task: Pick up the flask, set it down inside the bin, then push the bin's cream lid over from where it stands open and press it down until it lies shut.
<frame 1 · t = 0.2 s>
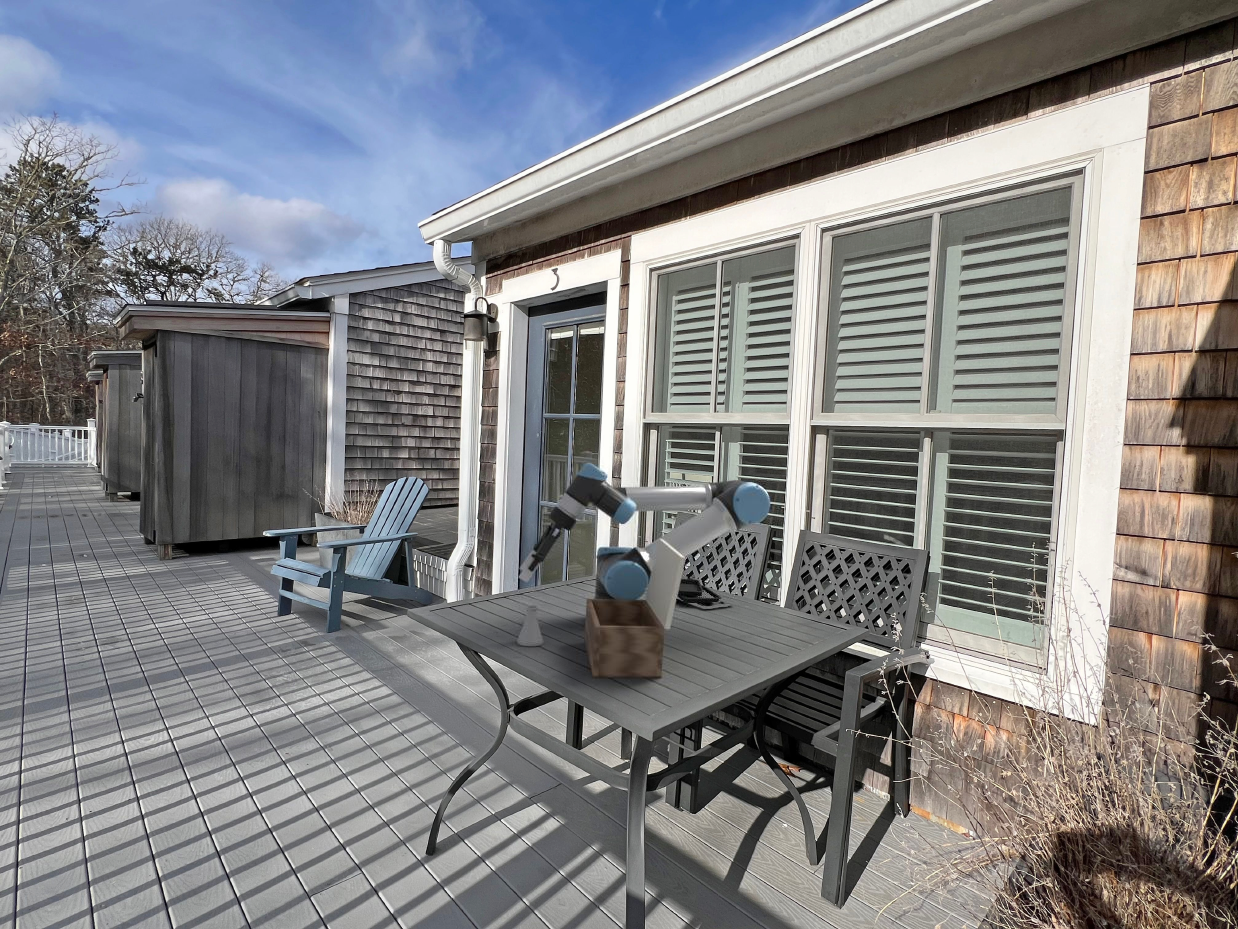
hand: (523, 575, 182), 17 cm above the table, tool tilted 30°, fingers open, 13 cm apart
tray: (689, 601, 233), on the table
flask: (530, 644, 176), on the table
bin: (620, 658, 167), on the table
lid: (663, 580, 167), point 20 cm above the table, hinge at 99.8°, touching arm
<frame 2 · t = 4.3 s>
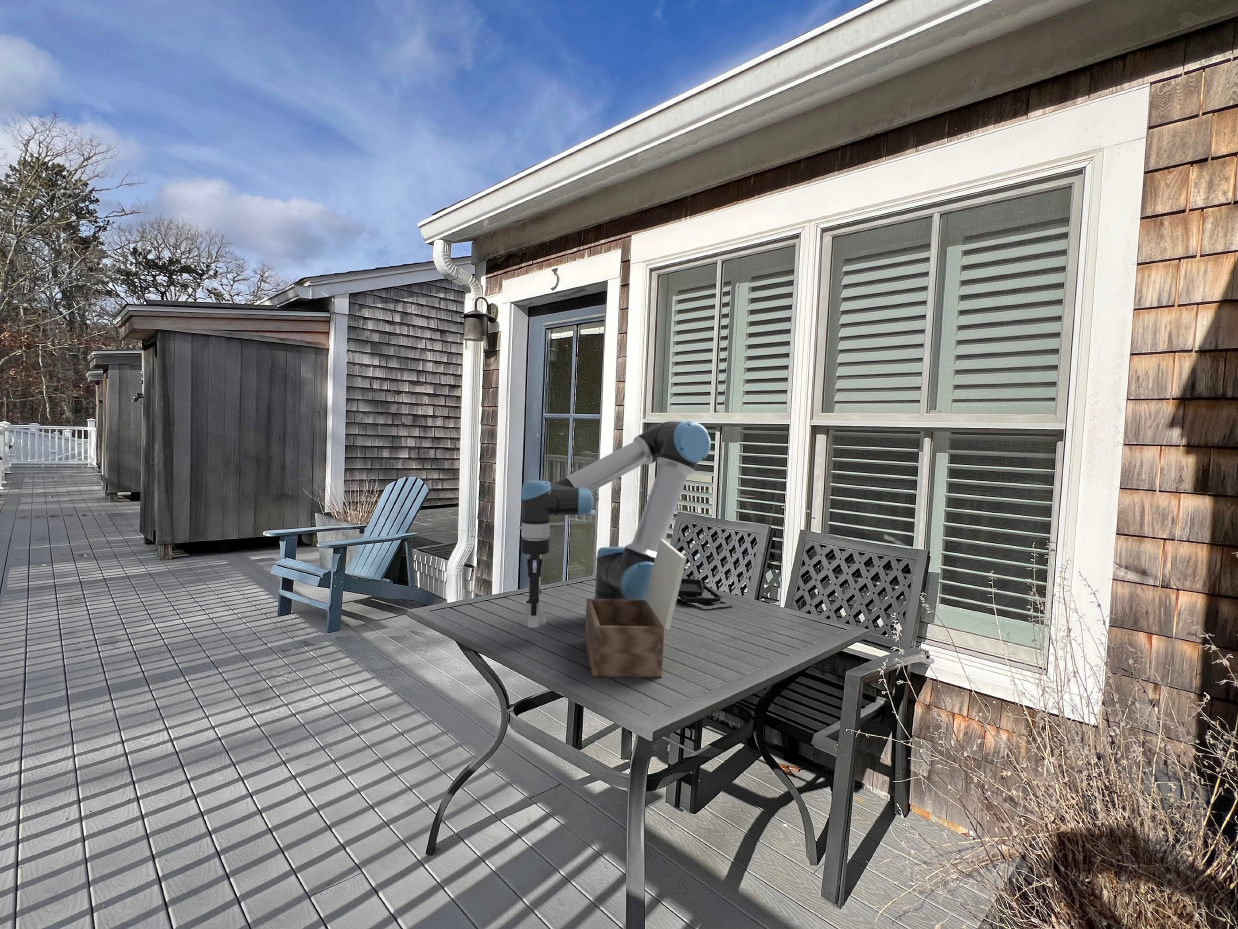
hand: (533, 622, 176), 6 cm above the table, tool pointing down, fingers closed on flask, 7 cm apart
flask: (533, 624, 176), point 5 cm above the table, touching gripper
lid: (664, 580, 167), point 20 cm above the table, hinge at 100.5°
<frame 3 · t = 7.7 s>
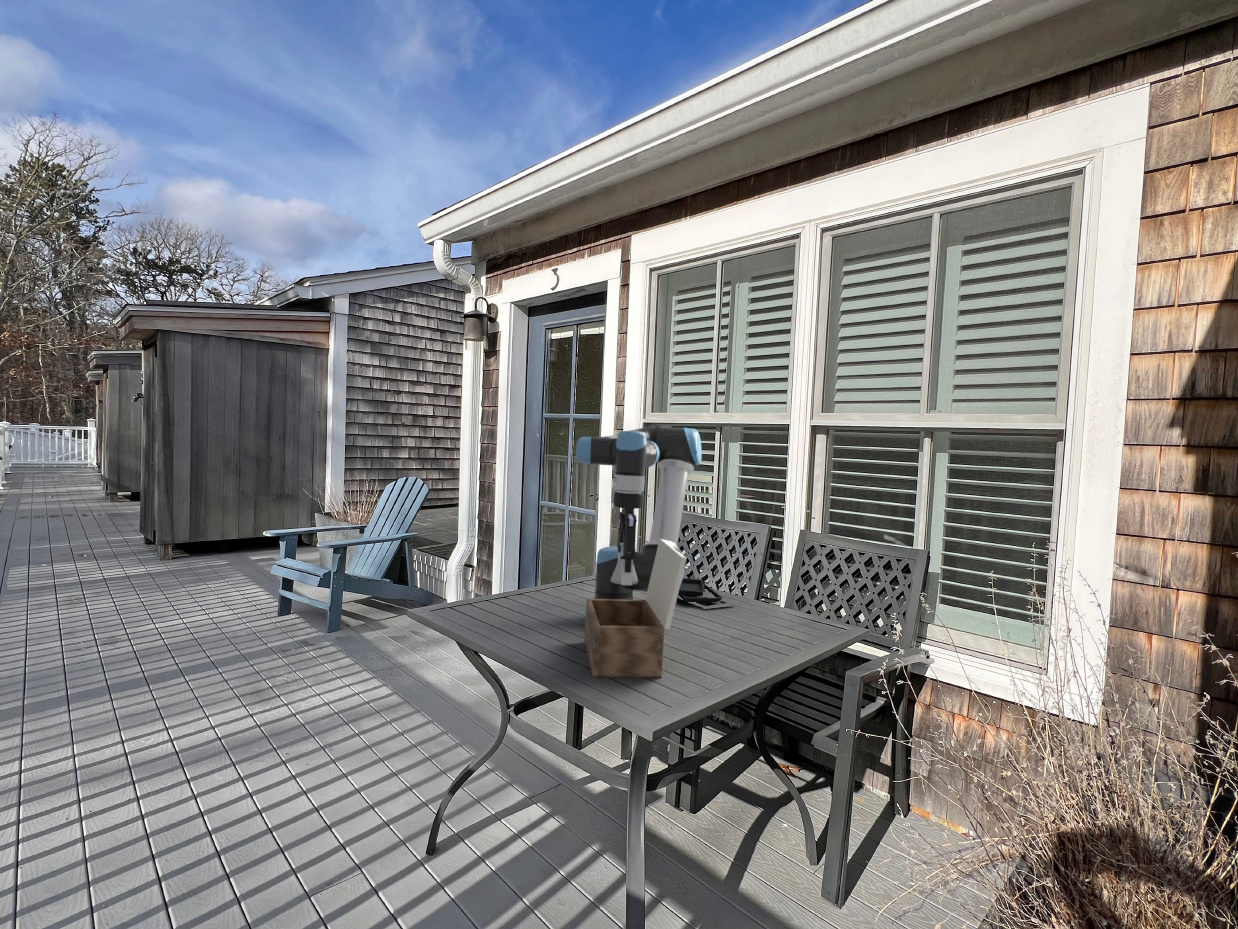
hand: (624, 581, 166), 20 cm above the table, tool pointing down, fingers closed on flask, 7 cm apart
flask: (624, 583, 166), point 20 cm above the table, touching gripper
when the fingers open (1 cm above the table, at t = 11.4 s): flask stays where it is, resting on bin.
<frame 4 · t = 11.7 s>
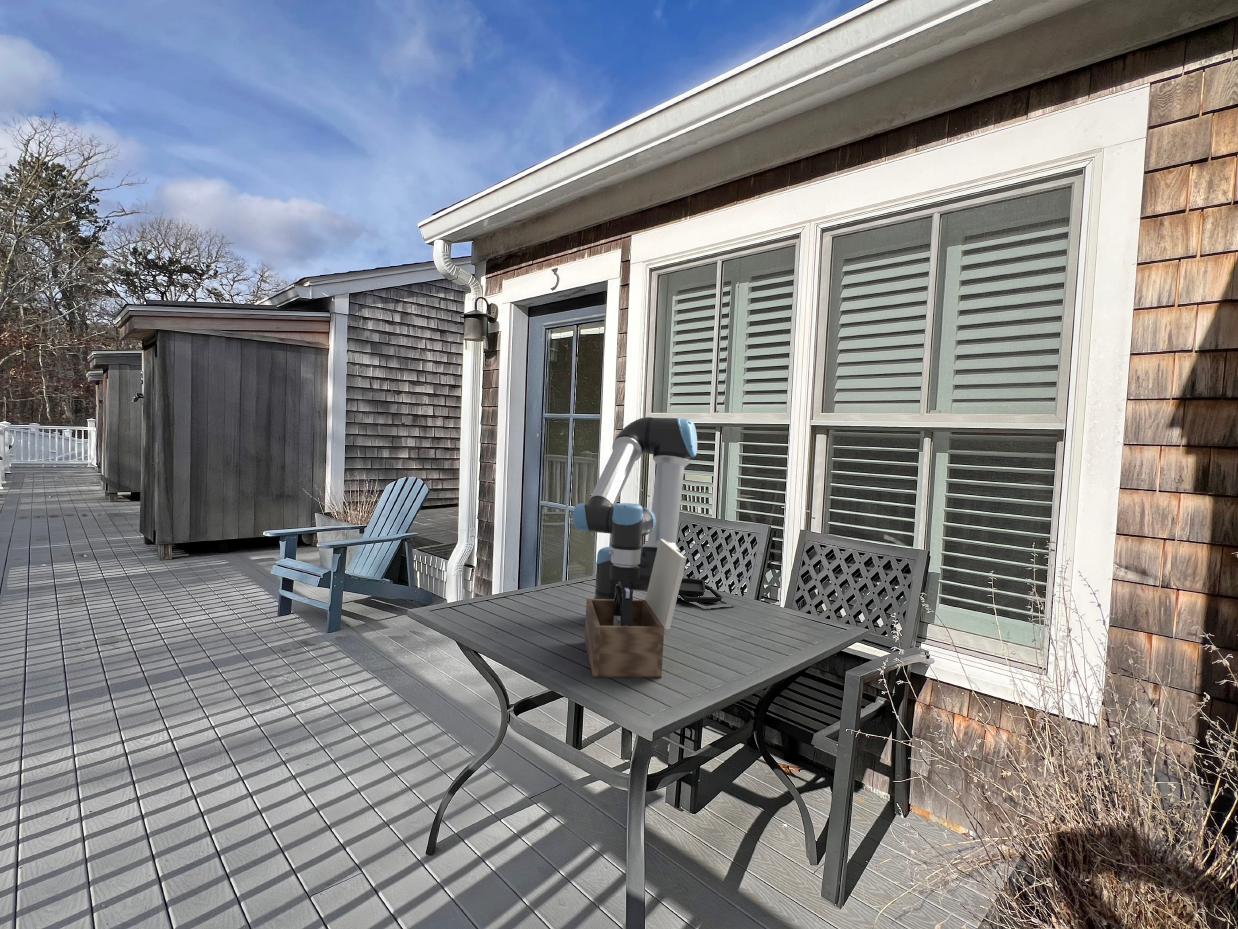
hand: (620, 648, 167), 3 cm above the table, tool pointing down, fingers open, 12 cm apart
flask: (620, 657, 167), resting on bin
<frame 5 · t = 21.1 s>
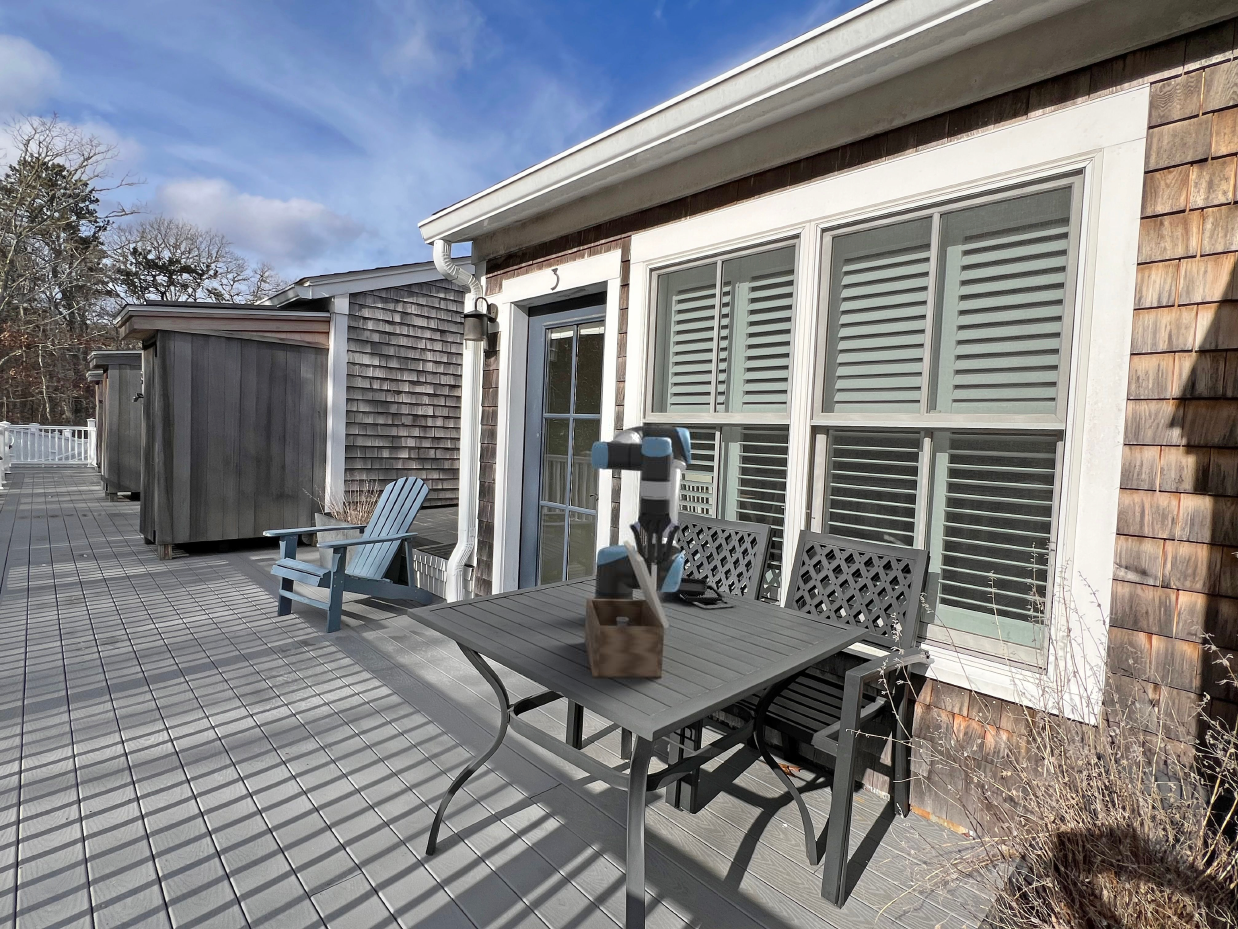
hand: (652, 589, 167), 18 cm above the table, tool pointing down, fingers closed
lid: (644, 581, 167), point 20 cm above the table, hinge at 66.0°, touching gripper
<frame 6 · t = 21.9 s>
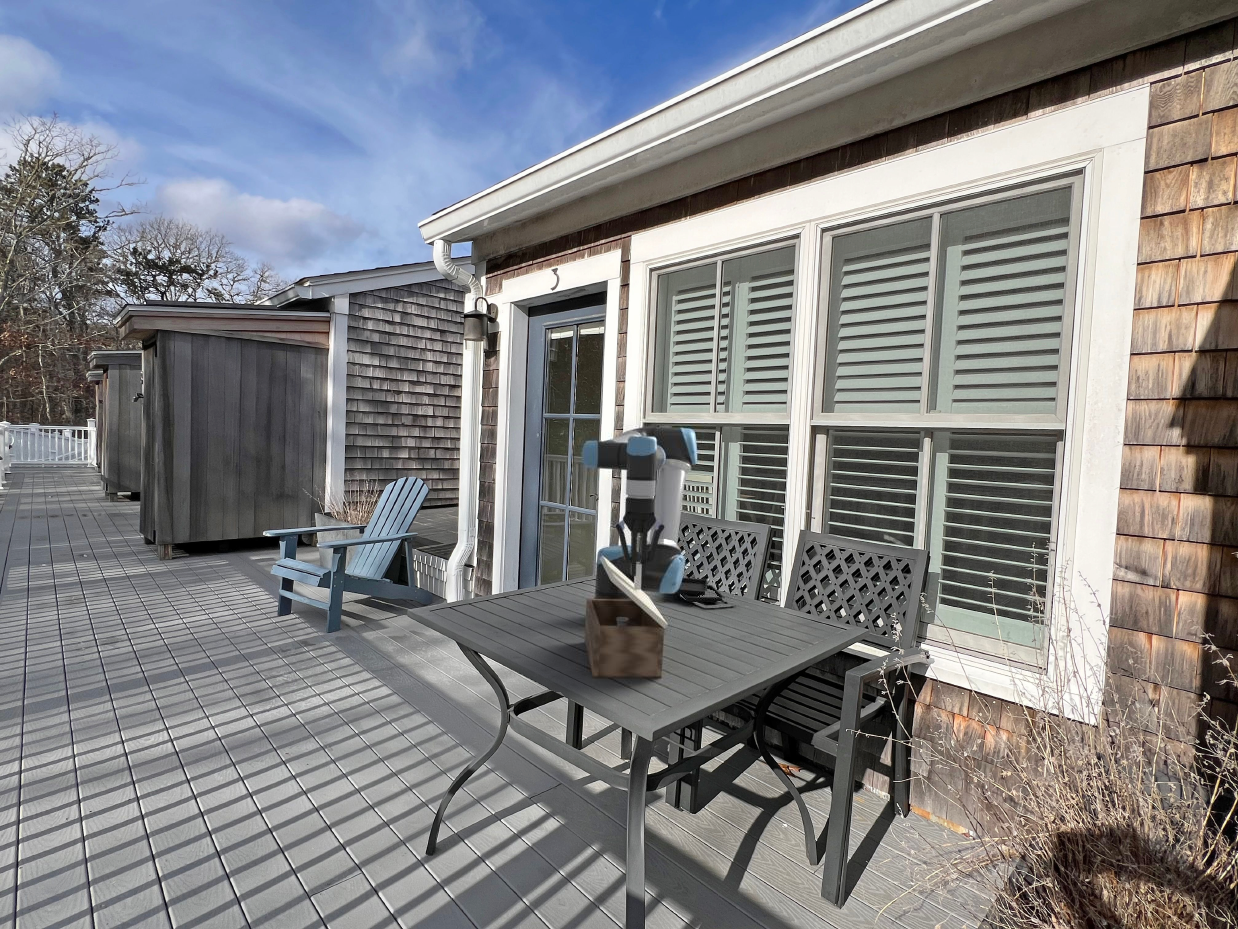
hand: (637, 588, 167), 18 cm above the table, tool pointing down, fingers closed
lid: (631, 589, 166), point 18 cm above the table, hinge at 39.7°, touching gripper
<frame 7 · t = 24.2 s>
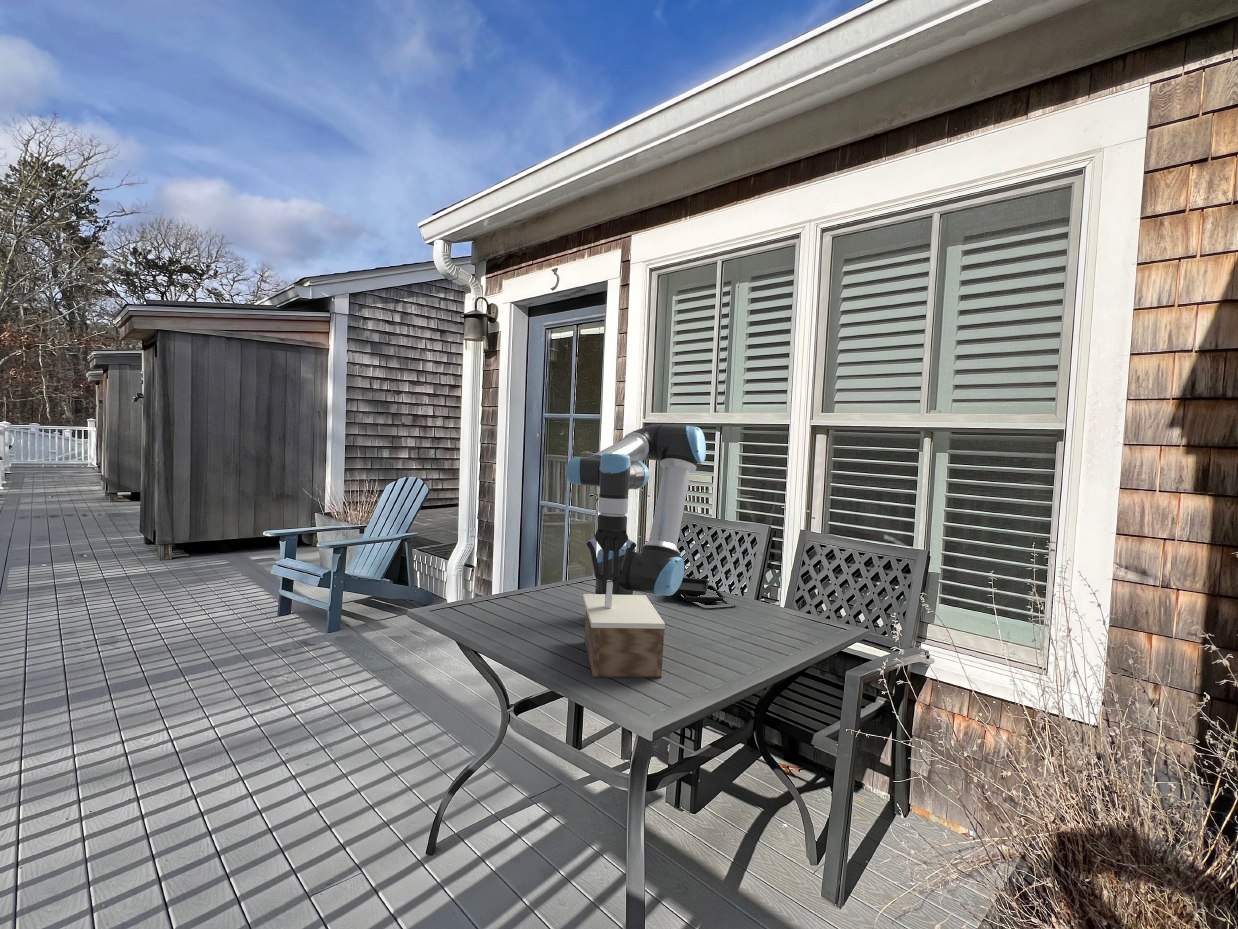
hand: (608, 606, 166), 13 cm above the table, tool pointing down, fingers closed
lid: (620, 610, 166), point 13 cm above the table, hinge at 0.1°, touching gripper
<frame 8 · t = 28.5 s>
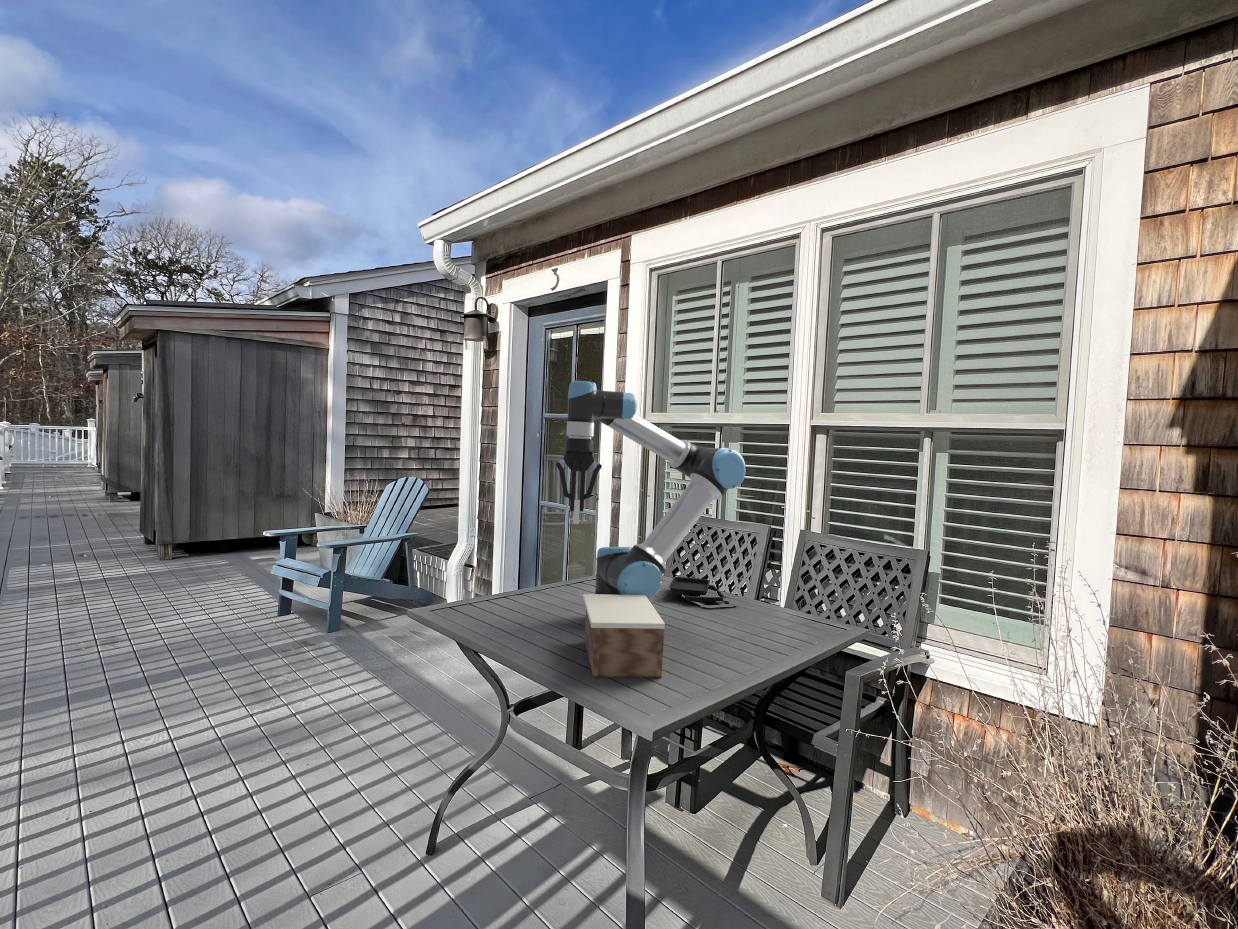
hand: (575, 523, 180), 32 cm above the table, tool pointing down, fingers closed
lid: (620, 610, 166), point 13 cm above the table, hinge at 0.0°, touching bin
at the end: lid at +0° (first picture: +98°); flask inside the target area on the bin (0.0 cm from its centre), point 0.2 cm above the bin's base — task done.
